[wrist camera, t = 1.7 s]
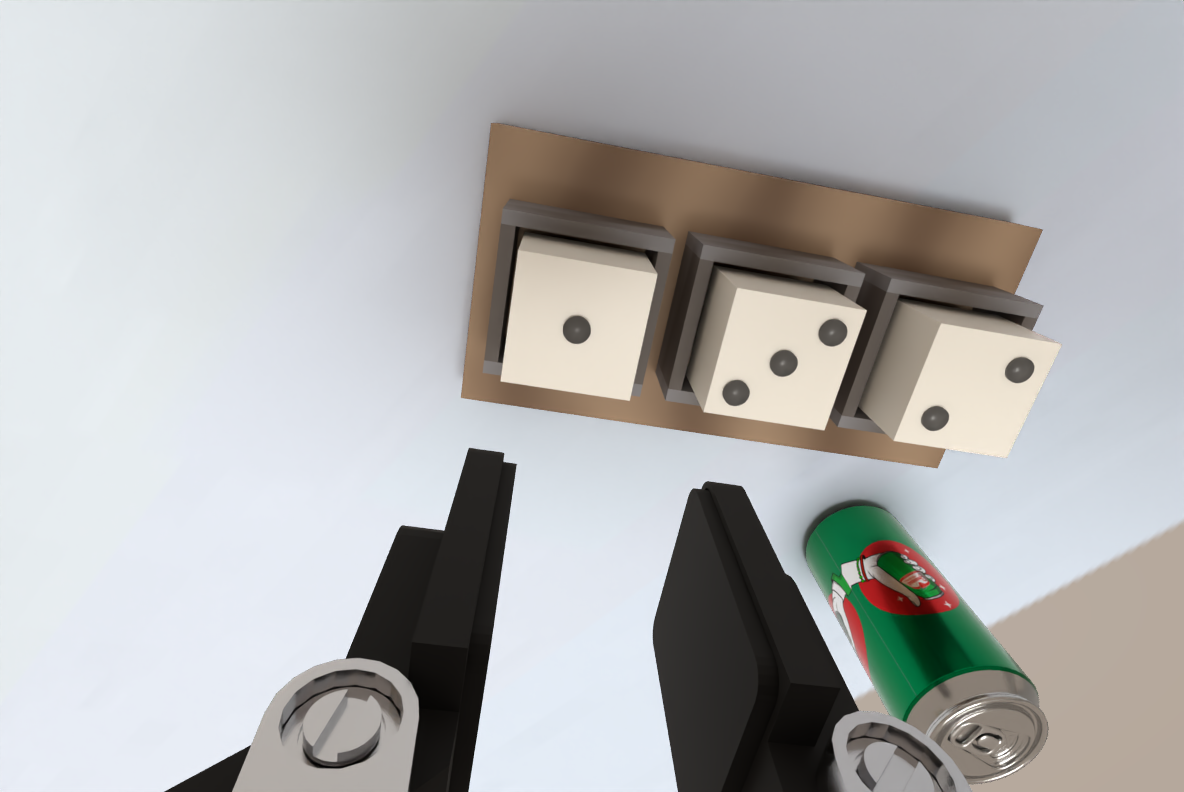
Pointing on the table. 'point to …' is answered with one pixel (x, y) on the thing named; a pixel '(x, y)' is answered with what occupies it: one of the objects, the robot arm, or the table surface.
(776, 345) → the three dot button
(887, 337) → the two dot button
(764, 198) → the button panel
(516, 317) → the one dot button
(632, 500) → the table surface
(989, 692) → the soda can
